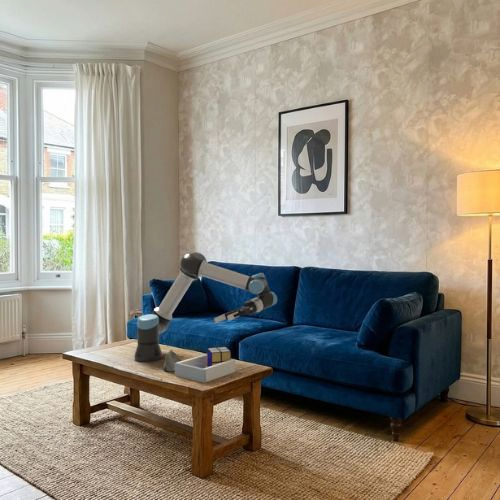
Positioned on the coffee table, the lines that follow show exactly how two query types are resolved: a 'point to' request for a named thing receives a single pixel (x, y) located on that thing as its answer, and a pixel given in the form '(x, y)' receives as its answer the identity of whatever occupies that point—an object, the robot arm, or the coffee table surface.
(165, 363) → the mineral rock
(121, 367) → the coffee table surface
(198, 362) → the grey storage tray
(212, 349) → the puzzle cube
